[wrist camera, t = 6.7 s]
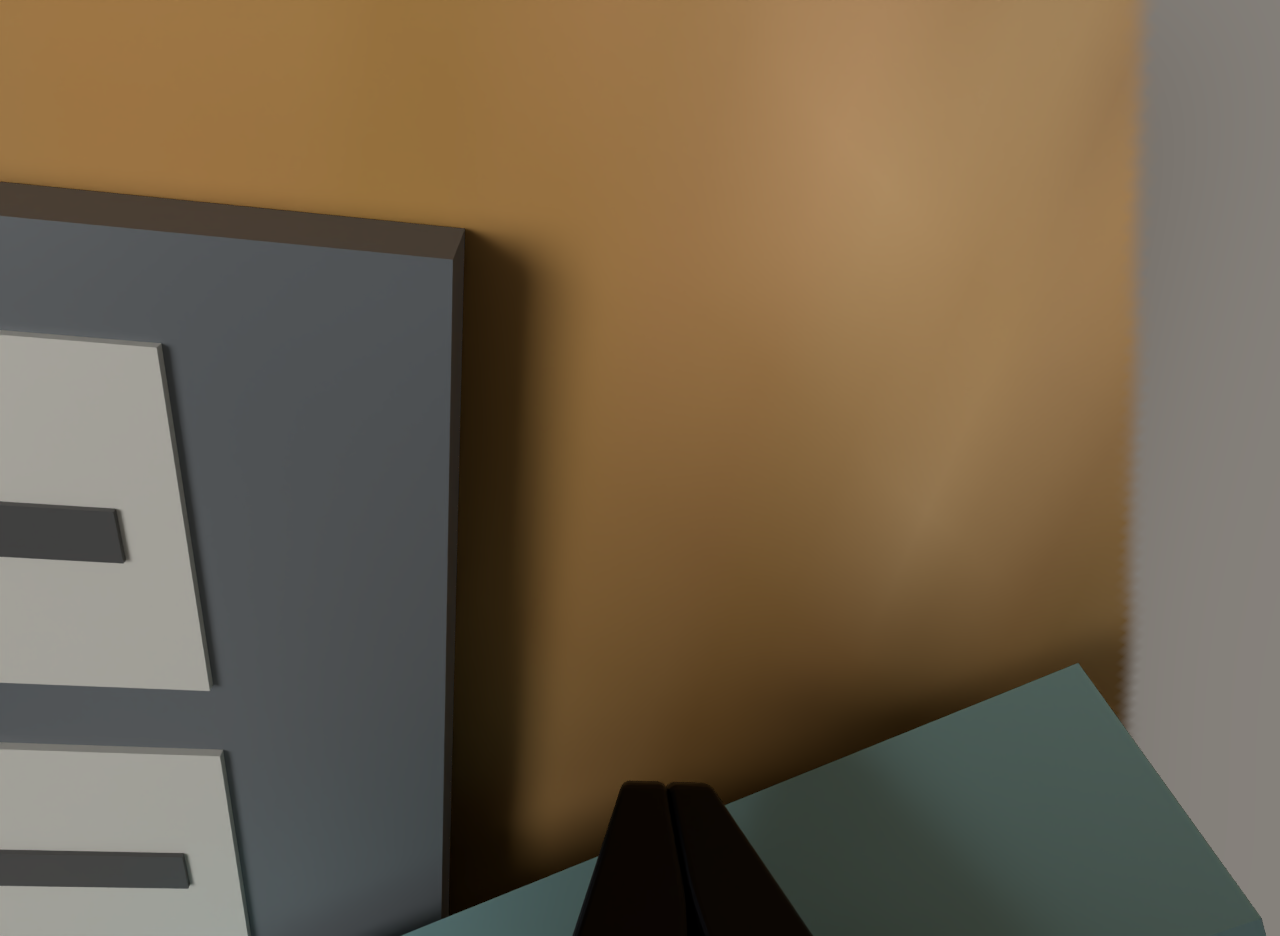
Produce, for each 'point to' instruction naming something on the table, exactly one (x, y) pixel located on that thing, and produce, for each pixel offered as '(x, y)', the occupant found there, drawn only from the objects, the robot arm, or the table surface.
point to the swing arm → (963, 836)
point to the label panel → (225, 567)
